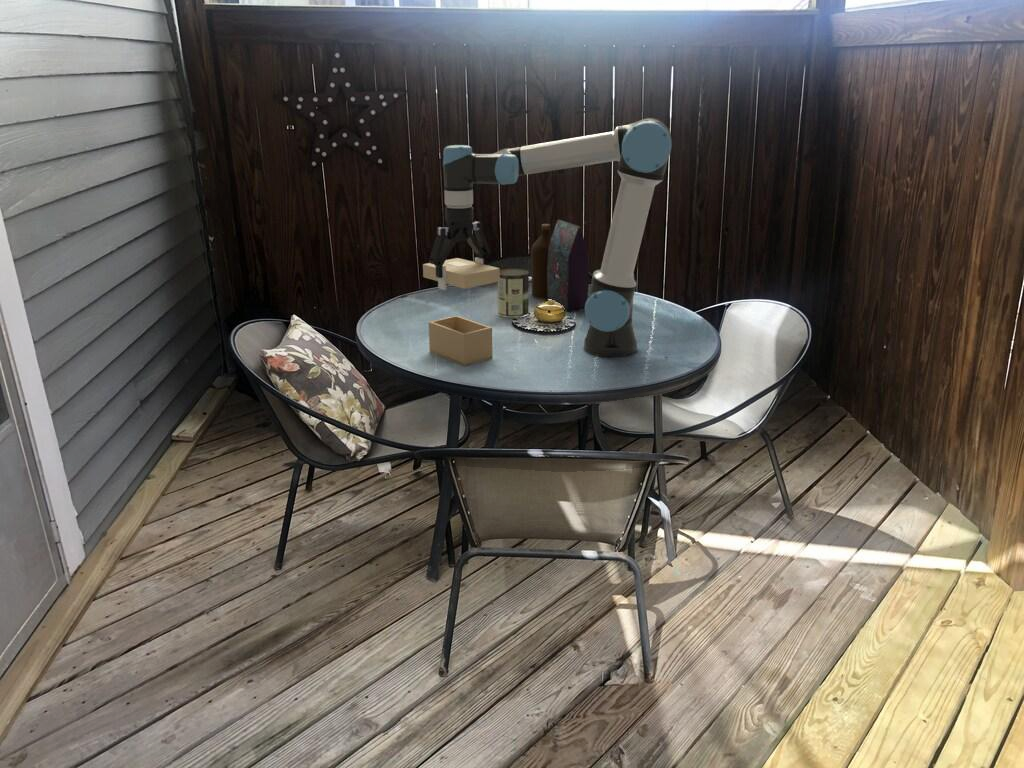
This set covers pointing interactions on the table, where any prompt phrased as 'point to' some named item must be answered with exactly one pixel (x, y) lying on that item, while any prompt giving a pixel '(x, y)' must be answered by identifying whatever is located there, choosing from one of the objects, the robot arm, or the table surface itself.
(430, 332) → the kraft box
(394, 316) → the table surface
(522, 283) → the coffee can
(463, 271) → the lid
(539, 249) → the olive oil
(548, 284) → the decorative box
